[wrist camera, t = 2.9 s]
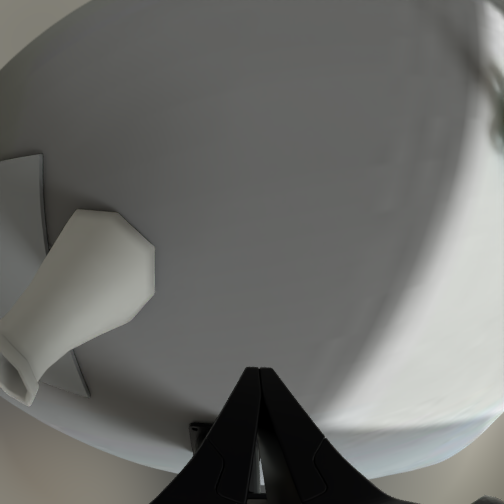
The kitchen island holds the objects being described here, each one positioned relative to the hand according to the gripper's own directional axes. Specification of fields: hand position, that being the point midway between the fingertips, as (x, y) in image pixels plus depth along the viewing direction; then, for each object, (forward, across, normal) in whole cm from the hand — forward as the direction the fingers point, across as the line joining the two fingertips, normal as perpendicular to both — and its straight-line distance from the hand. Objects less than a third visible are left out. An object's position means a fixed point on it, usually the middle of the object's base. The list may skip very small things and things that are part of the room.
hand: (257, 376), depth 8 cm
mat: (+8, +20, +3) cm, 22 cm away
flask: (+8, +9, 0) cm, 12 cm away
